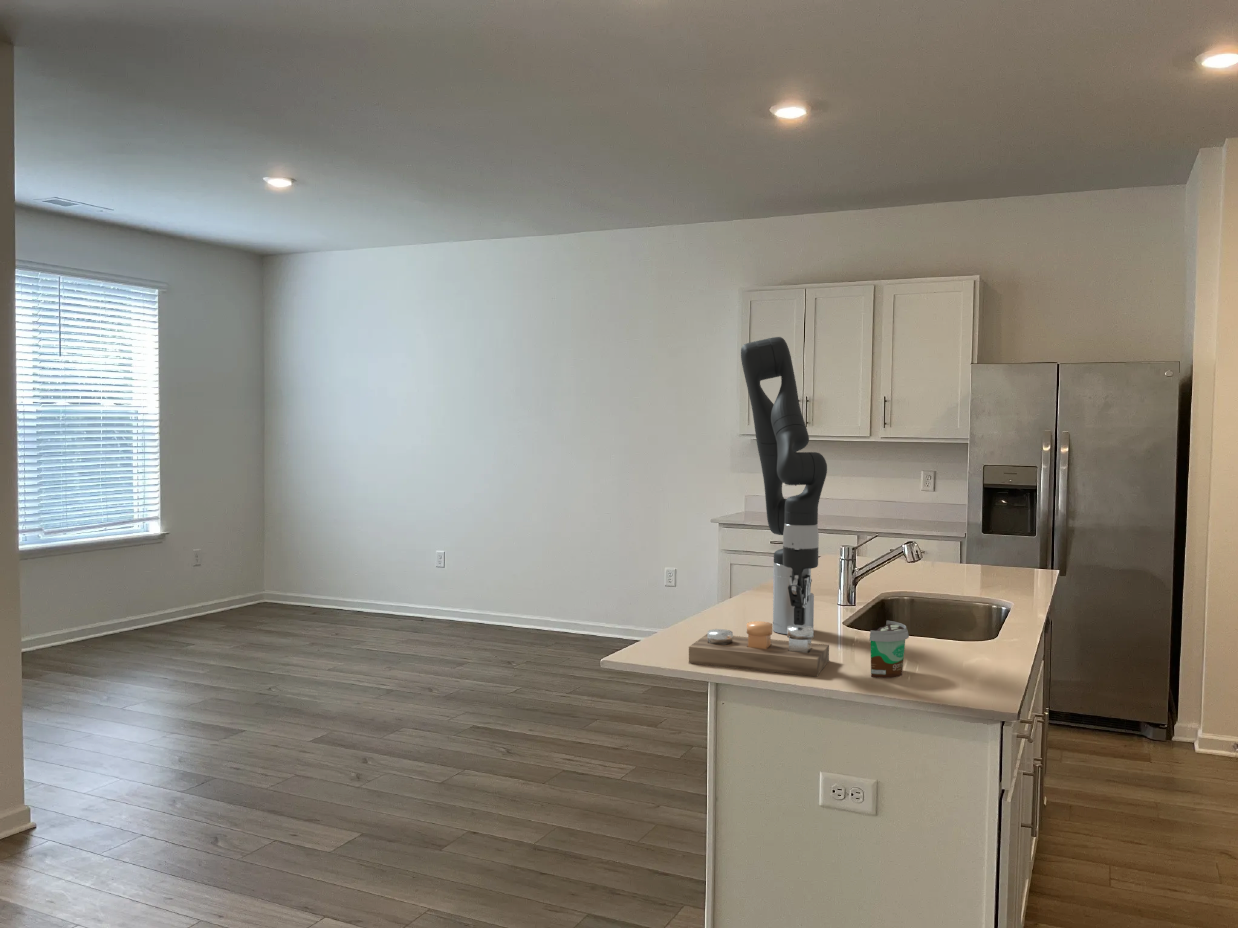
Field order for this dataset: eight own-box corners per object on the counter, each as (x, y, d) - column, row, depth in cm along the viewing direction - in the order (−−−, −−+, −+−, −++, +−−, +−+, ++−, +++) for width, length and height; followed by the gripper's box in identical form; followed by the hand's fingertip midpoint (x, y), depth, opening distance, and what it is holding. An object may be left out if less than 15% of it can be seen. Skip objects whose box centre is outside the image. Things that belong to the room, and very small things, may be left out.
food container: (898, 682, 199) (899, 634, 199) (868, 678, 202) (869, 630, 202) (915, 669, 210) (916, 623, 209) (886, 665, 213) (887, 619, 212)
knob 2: (790, 646, 215) (790, 623, 215) (815, 648, 213) (815, 626, 213) (784, 652, 210) (784, 629, 210) (810, 654, 208) (810, 631, 208)
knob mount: (707, 648, 227) (707, 633, 227) (828, 660, 217) (829, 644, 216) (688, 662, 214) (688, 646, 214) (816, 676, 204) (816, 659, 203)
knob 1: (711, 649, 222) (711, 628, 222) (735, 652, 220) (735, 630, 220) (704, 655, 217) (704, 633, 217) (728, 658, 215) (728, 635, 215)
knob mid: (750, 642, 219) (750, 620, 219) (774, 644, 217) (775, 622, 216) (743, 648, 214) (743, 625, 213) (768, 650, 212) (769, 627, 211)
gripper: (790, 540, 218) (789, 617, 219) (776, 547, 206) (775, 629, 207) (824, 542, 215) (822, 620, 216) (811, 549, 203) (810, 632, 204)
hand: (799, 624), depth 211 cm, fingers closed
